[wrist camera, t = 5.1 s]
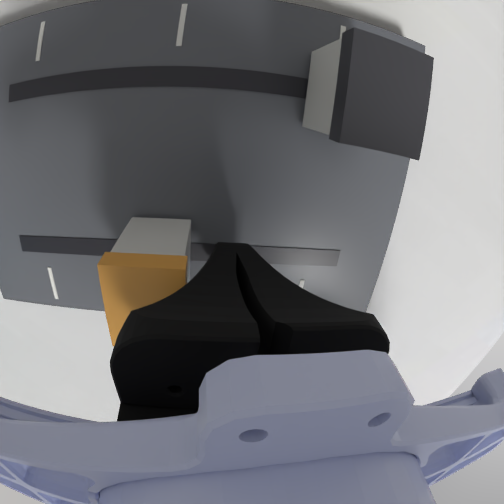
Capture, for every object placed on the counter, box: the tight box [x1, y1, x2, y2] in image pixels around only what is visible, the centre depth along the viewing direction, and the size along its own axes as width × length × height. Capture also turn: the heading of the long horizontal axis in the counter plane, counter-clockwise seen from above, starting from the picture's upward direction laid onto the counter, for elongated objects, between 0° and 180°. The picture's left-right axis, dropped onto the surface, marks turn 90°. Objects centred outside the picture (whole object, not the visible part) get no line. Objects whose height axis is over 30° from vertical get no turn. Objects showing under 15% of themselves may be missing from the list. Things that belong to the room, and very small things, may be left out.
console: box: [0, 0, 425, 312], centre depth 12 cm, size 14×20×2 cm
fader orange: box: [97, 217, 191, 346], centre depth 11 cm, size 3×3×4 cm
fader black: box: [302, 27, 434, 160], centre depth 8 cm, size 3×3×4 cm
